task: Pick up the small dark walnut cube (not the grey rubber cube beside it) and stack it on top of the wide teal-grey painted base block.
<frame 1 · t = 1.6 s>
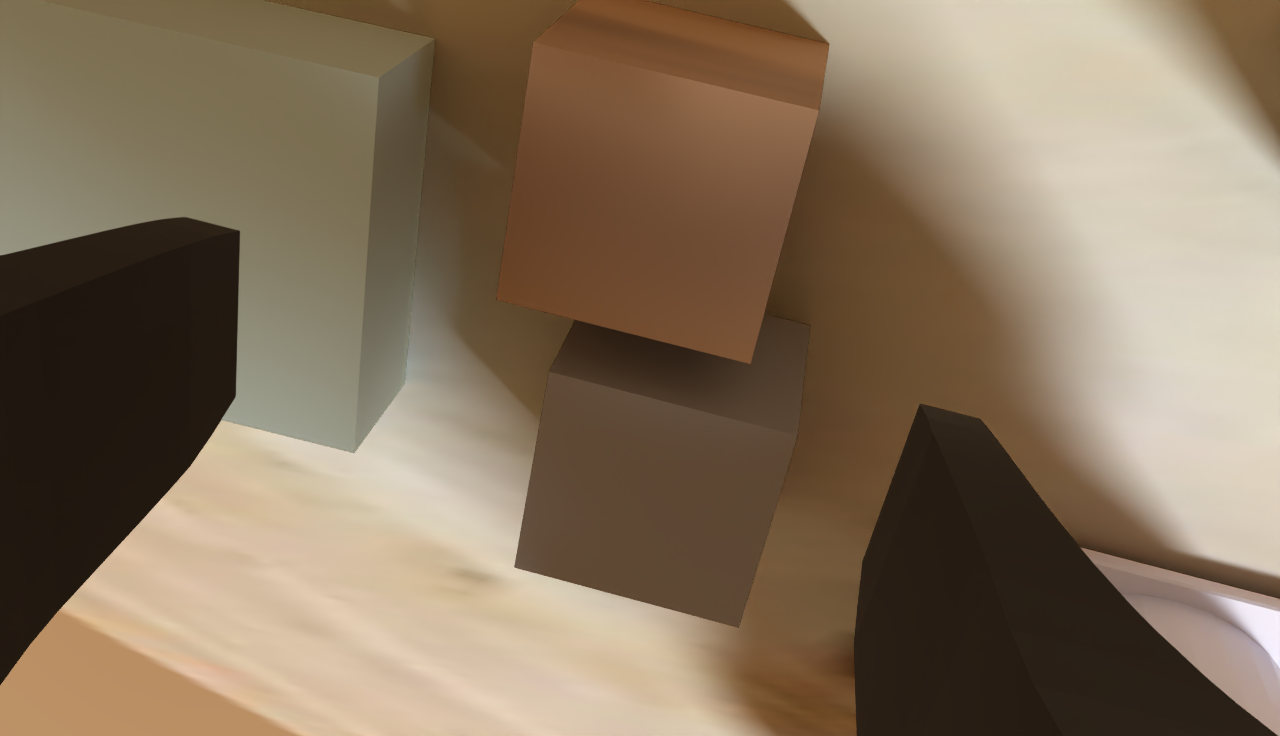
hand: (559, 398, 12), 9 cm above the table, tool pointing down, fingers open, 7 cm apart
walnut cube: (686, 130, 21), on the table
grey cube: (682, 387, 23), on the table
base block: (249, 176, 23), on the table
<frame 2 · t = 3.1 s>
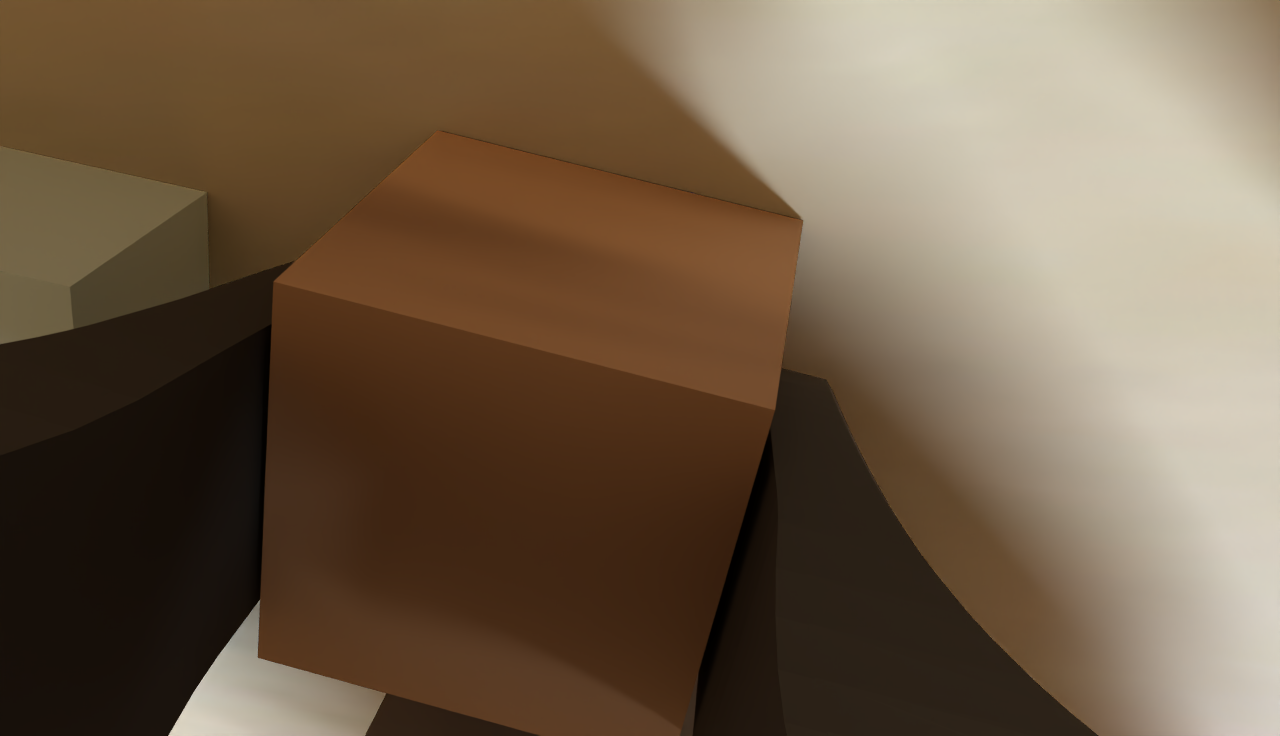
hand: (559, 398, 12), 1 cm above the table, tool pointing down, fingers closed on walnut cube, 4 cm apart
walnut cube: (587, 338, 14), on the table, touching gripper
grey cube: (599, 672, 16), on the table
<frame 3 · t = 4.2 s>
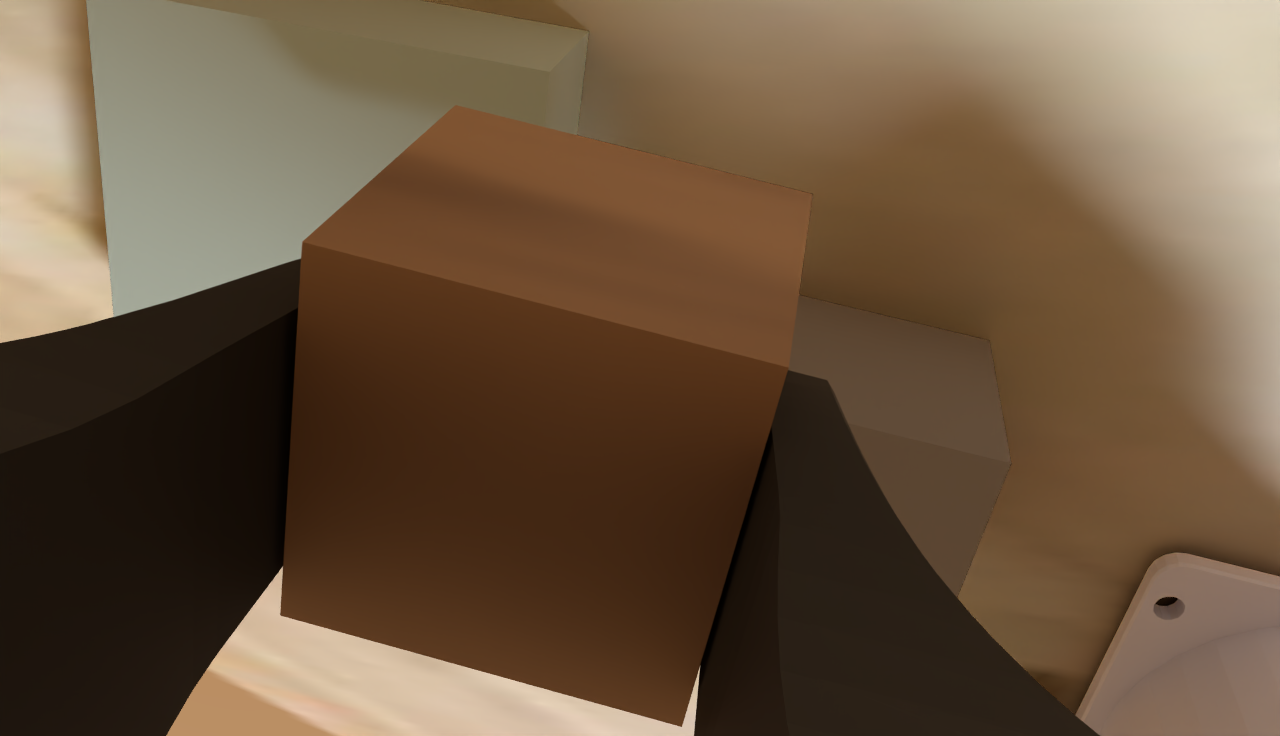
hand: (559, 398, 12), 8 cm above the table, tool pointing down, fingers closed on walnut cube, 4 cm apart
walnut cube: (600, 310, 14), point 7 cm above the table, touching gripper
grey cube: (844, 408, 22), on the table
base block: (381, 187, 21), on the table
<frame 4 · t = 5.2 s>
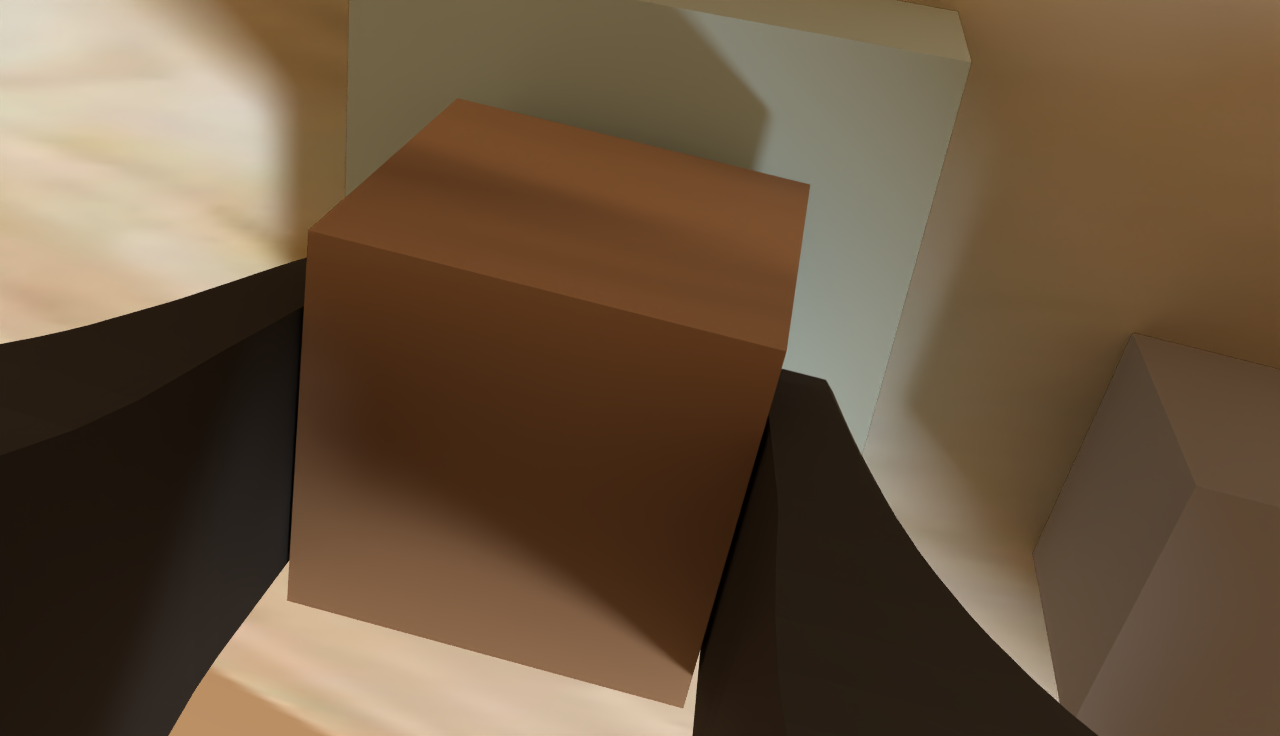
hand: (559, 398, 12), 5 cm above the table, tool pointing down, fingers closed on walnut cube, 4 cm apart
walnut cube: (600, 301, 14), point 3 cm above the table, touching gripper
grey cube: (1212, 480, 18), on the table
base block: (652, 204, 17), on the table
when the fingers open (5 cm above the table, at t = 5.8 s): walnut cube stays where it is, point 3 cm above the table.
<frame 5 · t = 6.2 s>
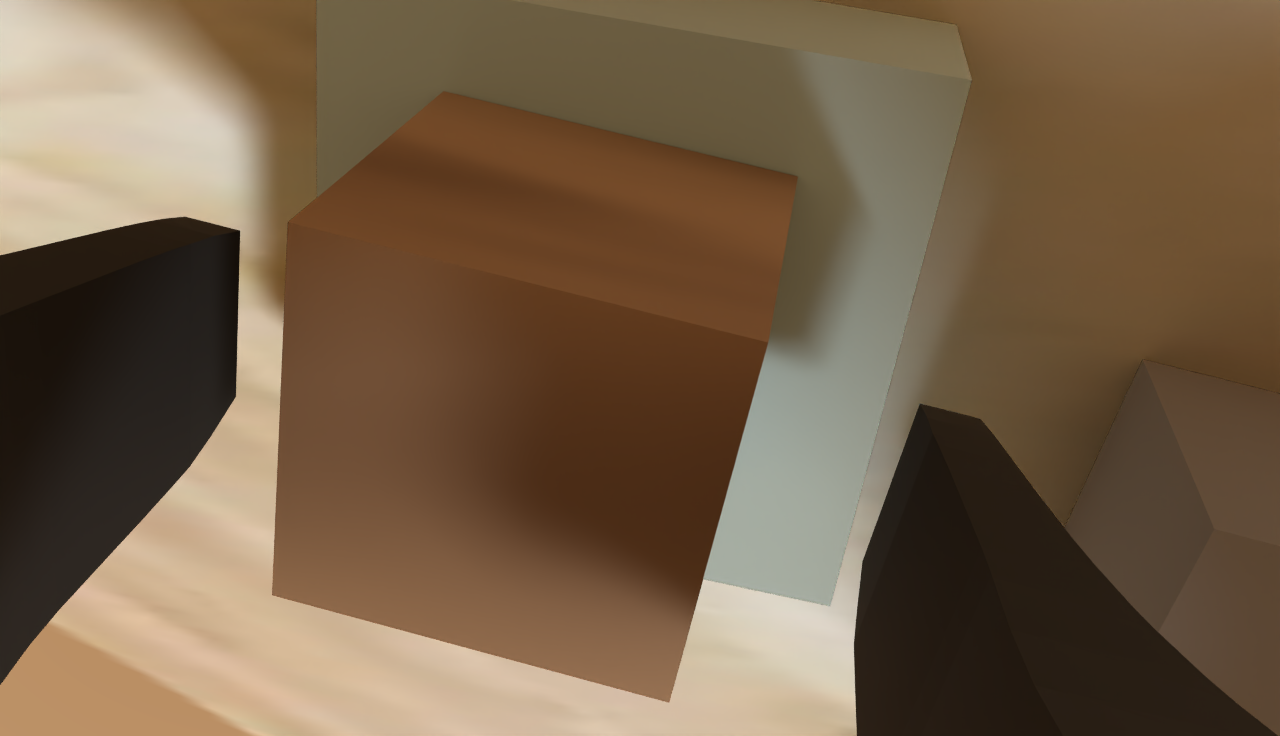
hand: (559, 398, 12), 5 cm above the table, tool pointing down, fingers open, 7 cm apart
walnut cube: (589, 294, 14), point 3 cm above the table
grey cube: (1225, 511, 17), on the table
base block: (641, 226, 17), on the table
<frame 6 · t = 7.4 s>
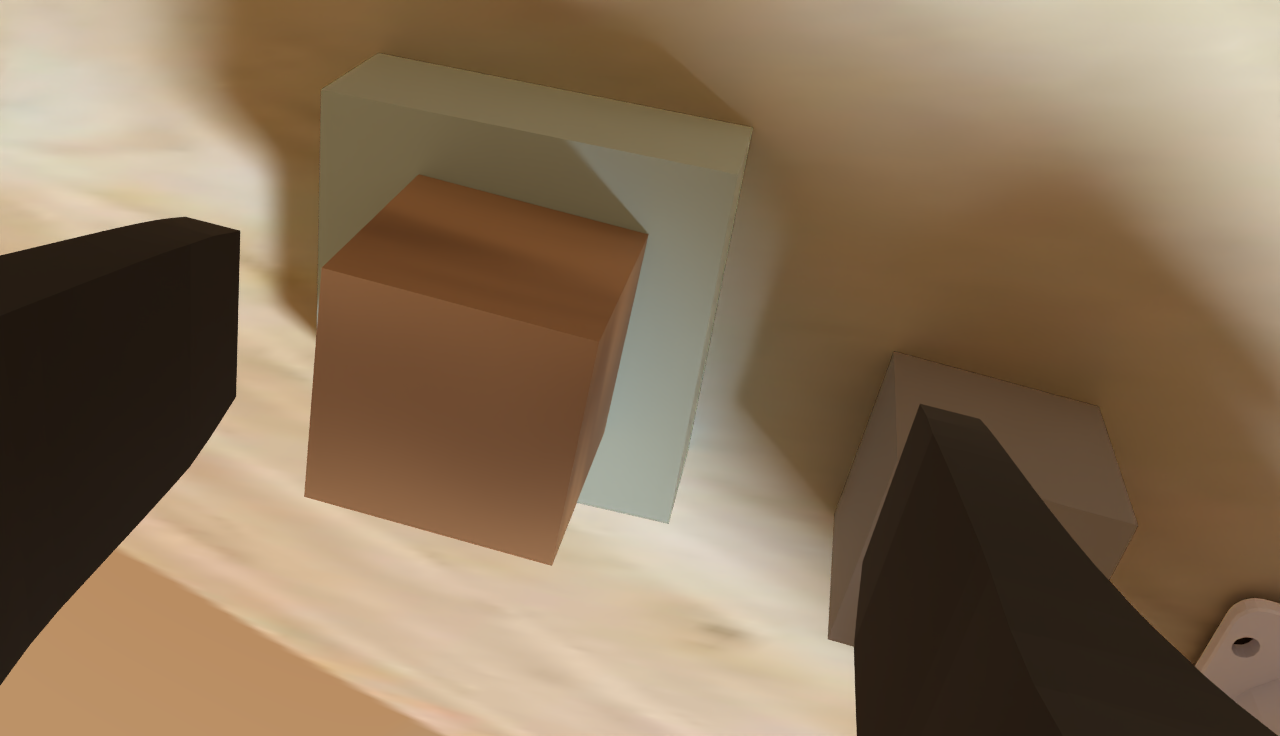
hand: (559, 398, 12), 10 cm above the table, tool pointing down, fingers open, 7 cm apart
walnut cube: (515, 308, 21), point 3 cm above the table
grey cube: (960, 460, 24), on the table
base block: (547, 256, 24), on the table
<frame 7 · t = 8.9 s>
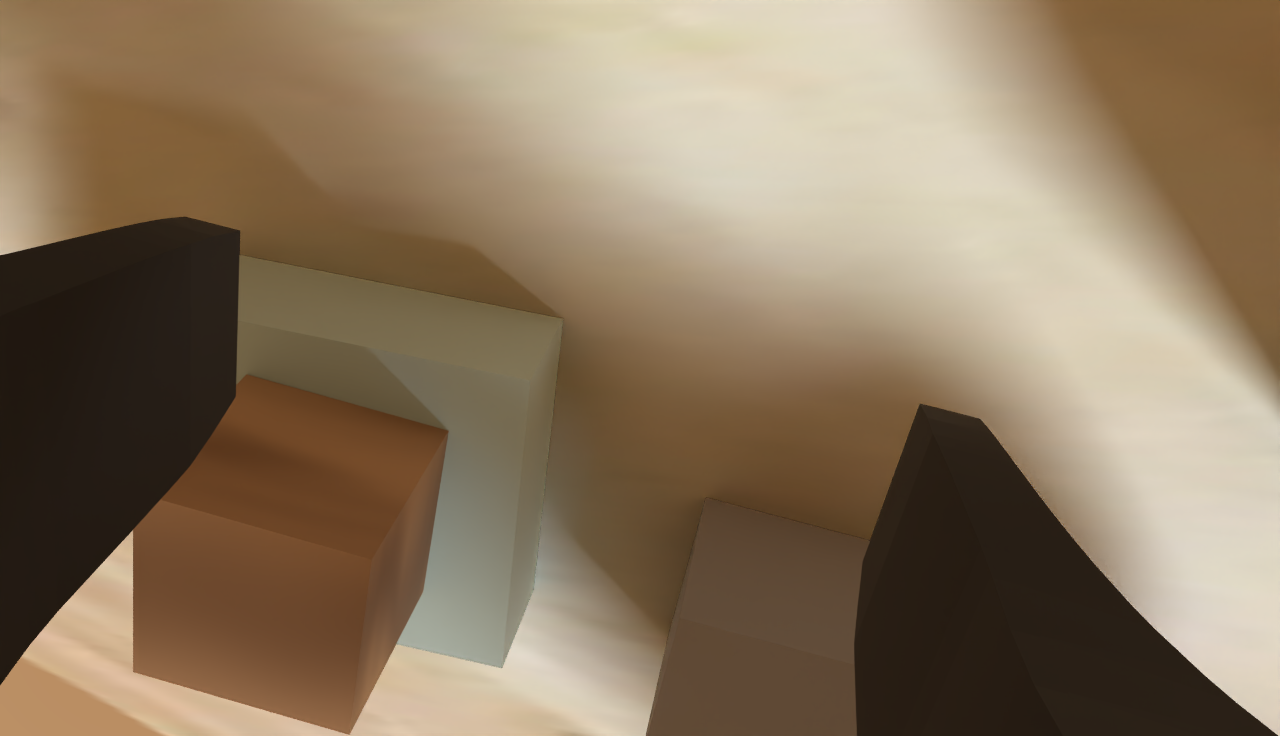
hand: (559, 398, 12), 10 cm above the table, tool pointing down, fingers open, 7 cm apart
walnut cube: (338, 486, 24), point 3 cm above the table, touching base block
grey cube: (775, 591, 26), on the table
base block: (397, 421, 26), on the table, touching walnut cube
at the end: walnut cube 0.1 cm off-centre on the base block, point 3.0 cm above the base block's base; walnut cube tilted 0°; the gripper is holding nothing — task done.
